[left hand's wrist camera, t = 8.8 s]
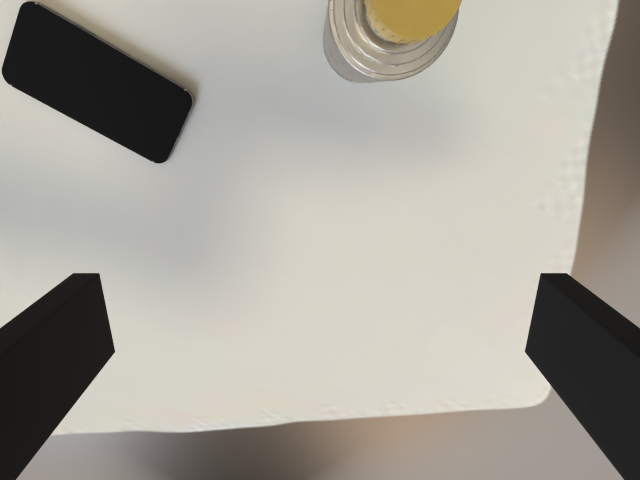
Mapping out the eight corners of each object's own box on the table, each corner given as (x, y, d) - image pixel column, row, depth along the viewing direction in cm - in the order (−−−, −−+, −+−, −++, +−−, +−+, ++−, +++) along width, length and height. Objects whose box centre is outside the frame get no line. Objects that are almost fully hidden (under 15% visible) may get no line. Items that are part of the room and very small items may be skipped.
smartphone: (163, 168, 38) (-2, 79, 35) (165, 166, 39) (3, 79, 36) (196, 95, 36) (23, -6, 33) (198, 95, 36) (28, -4, 34)
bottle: (393, -16, 34) (489, -140, 15) (408, 70, 36) (508, 54, 17) (314, 8, 34) (312, -84, 16) (334, 92, 37) (353, 97, 18)
